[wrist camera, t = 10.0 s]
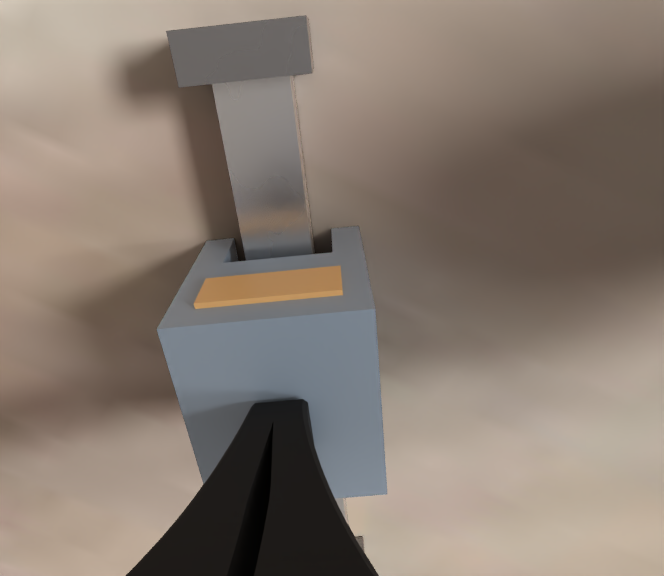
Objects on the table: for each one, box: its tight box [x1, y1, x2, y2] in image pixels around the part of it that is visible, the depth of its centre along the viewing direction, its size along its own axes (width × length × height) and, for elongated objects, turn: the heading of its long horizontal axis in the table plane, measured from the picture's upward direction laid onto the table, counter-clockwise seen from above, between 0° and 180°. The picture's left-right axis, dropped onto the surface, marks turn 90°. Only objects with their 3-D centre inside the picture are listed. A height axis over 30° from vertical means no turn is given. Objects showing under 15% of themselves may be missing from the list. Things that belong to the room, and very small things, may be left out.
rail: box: [166, 16, 365, 553], centre depth 17 cm, size 3×22×2 cm, turn 6°
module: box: [157, 226, 387, 498], centre depth 15 cm, size 5×6×6 cm
